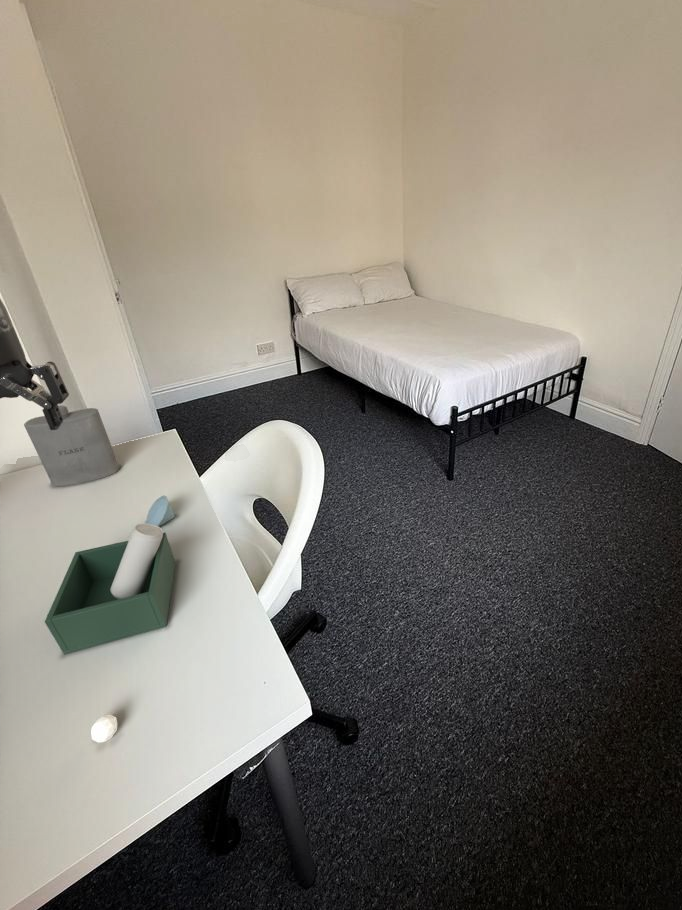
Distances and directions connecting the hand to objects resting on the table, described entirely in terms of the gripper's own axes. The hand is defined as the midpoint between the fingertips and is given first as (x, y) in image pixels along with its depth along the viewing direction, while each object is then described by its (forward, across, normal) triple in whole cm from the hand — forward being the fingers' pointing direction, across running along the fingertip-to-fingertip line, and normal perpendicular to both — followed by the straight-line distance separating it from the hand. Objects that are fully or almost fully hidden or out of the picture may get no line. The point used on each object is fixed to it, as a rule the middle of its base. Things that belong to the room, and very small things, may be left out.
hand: (24, 431), depth 64 cm
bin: (+31, -8, +9) cm, 33 cm away
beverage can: (+29, -8, +9) cm, 31 cm away
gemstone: (+31, -11, -12) cm, 35 cm away
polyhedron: (+31, -11, +31) cm, 45 cm away
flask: (+32, +11, -38) cm, 50 cm away
